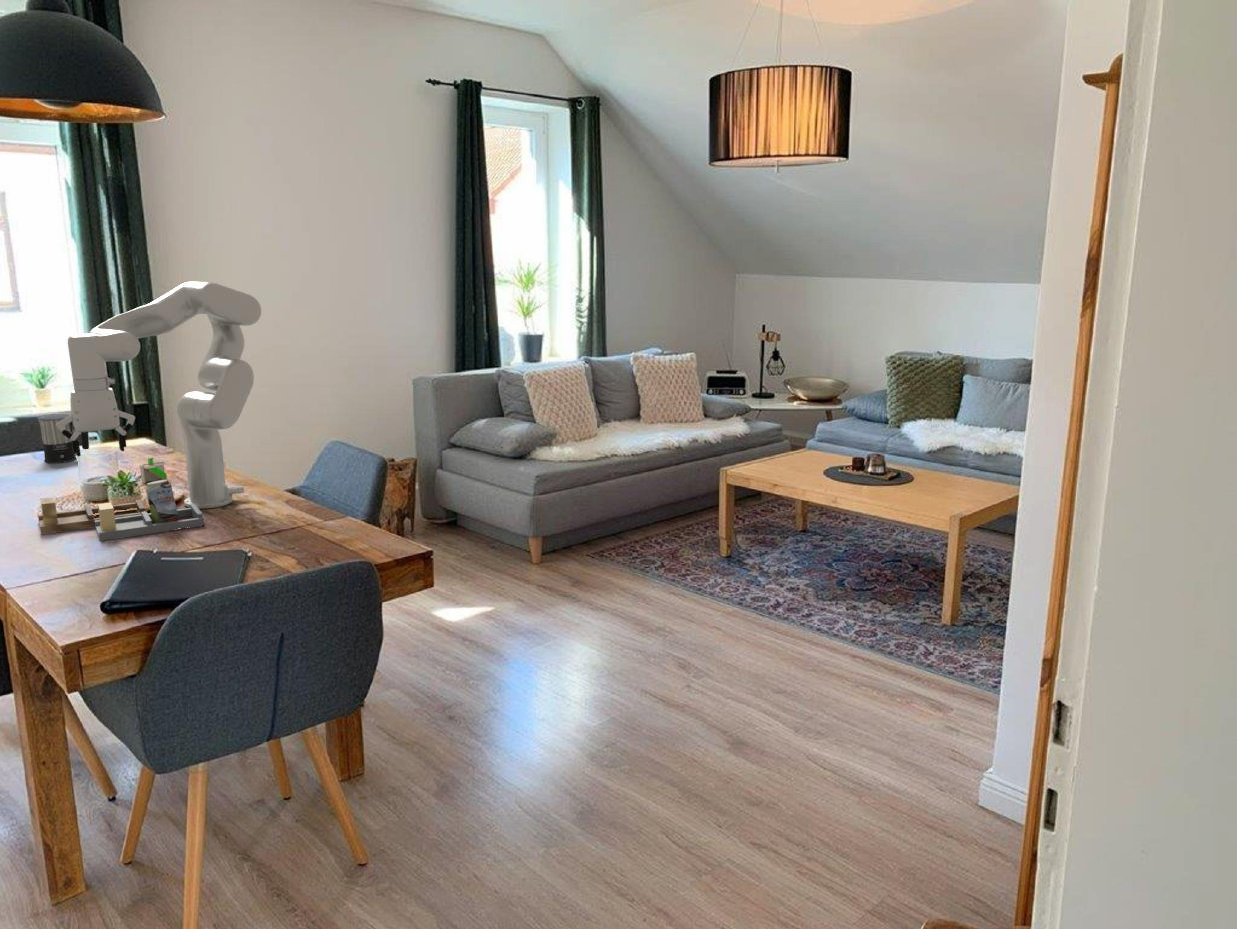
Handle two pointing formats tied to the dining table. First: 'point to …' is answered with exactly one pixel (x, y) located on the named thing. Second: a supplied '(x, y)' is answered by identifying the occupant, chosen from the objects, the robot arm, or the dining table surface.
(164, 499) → the grey printed packet
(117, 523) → the grey divided tray
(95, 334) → the robot arm
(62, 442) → the milk frother
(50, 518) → the plank with end posts
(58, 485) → the dining table surface
